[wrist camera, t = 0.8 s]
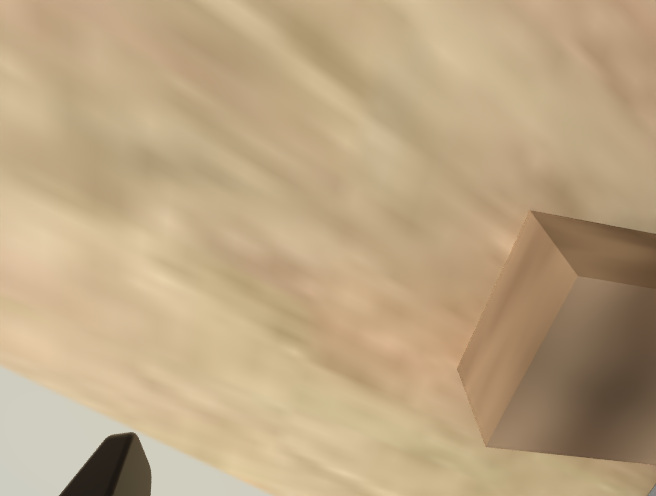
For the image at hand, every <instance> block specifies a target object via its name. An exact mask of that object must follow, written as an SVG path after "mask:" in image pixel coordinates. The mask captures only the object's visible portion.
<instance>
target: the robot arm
mask: <svg viewBox="0 0 656 496" xmlns="http://www.w3.org/2000/svg"><path fill="white" fill-rule="evenodd" d="M150 495H151V469H150V465H149V463H148V460H147V458H146V455H145V453H144V450H143V448H142V445H141V443H140V440H139V438H138V436H137V435H136V434H135V433H132V432H129V433H122V434H114V435H110V436H108V437H107V438H106V439H105V440H104V441H103V442H102V443H101V445H100V446H99V447H98V449H97V450H96V451H95V452H94V453H93V455H92V456H91V457H90V458H89V460H88V461H87V462H86V463H85V464H84V466H83V467H82V468H81V469H80V470H79V472H78V473H77V474H76V476H75V477H74V478H73V479H72V480H71V482H70V483H69V484H68V485H67V486H66V488H65V489H64V490H63V491H62V493H61V494H60V495H59V496H150Z"/></svg>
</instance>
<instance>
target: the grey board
mask: <svg viewBox="0 0 656 496" xmlns="http://www.w3.org/2000/svg"><path fill="white" fill-rule="evenodd" d="M648 496H656V485H655V486H654V488H653V489H652V491H651V492H650V493H649V495H648Z"/></svg>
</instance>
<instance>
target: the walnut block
mask: <svg viewBox="0 0 656 496" xmlns="http://www.w3.org/2000/svg"><path fill="white" fill-rule="evenodd" d="M457 369H458V372H459V375H460V378H461V380H462V383H463V386H464V389H465V391H466V394H467V397H468V400H469V402H470V405H471V408H472V411H473V413H474V416H475V419H476V422H477V424H478V427H479V430H480V433H481V435H482V438H483V441H484V444H485V446H486V447H491V448H501V449H510V450H520V451H529V452H539V453H548V454H557V455H567V456H576V457H586V458H595V459H605V460H614V461H623V462H633V463H642V464H652V465H656V234H652V233H647V232H642V231H636V230H631V229H626V228H620V227H615V226H610V225H605V224H599V223H594V222H589V221H583V220H578V219H573V218H567V217H562V216H557V215H551V214H546V213H541V212H536V211H529V214H528V216H527V218H526V220H525V222H524V224H523V227H522V229H521V231H520V233H519V235H518V238H517V240H516V242H515V244H514V246H513V248H512V251H511V253H510V255H509V257H508V259H507V261H506V264H505V266H504V268H503V270H502V272H501V274H500V277H499V279H498V281H497V283H496V285H495V287H494V290H493V292H492V294H491V296H490V298H489V300H488V303H487V305H486V307H485V309H484V311H483V314H482V316H481V318H480V320H479V322H478V324H477V327H476V329H475V331H474V333H473V335H472V337H471V340H470V342H469V344H468V346H467V348H466V350H465V353H464V355H463V357H462V359H461V361H460V363H459V366H458V368H457Z"/></svg>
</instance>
